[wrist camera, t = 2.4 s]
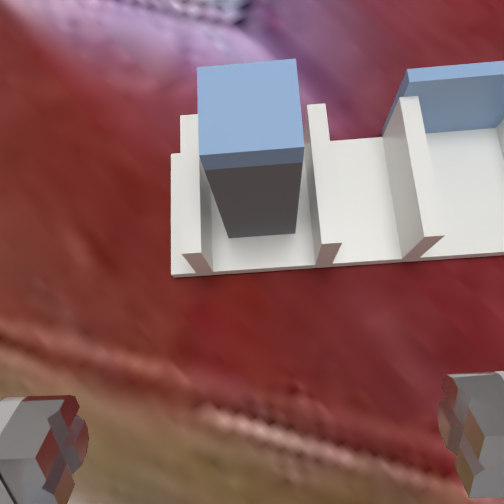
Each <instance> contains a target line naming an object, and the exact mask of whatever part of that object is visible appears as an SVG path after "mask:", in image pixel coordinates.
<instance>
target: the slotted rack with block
mask: <svg viewBox="0 0 504 504" xmlns="http://www.w3.org/2000/svg"><path fill="white" fill-rule="evenodd" d="M180 133H181V153H177V154H171V275H172V276H173V277H174V278H177V277H192V276H206V275H221V274H236V273H251V272H265V271H280V270H295V269H309V268H324V267H339V266H353V265H368V264H383V263H398V262H412V261H427V260H442V259H456V258H471V257H486V256H500V255H504V61H496V62H485V63H473V64H462V65H450V66H439V67H427V68H416V69H407V71H406V73H405V76H404V78H403V80H402V83H401V85H400V88H399V90H398V93H397V95H396V97H395V100H394V102H393V105H392V107H391V110H390V112H389V115H388V117H387V119H386V122H385V124H384V127H383V129H382V132H381V135H382V137H376V138H364V139H351V140H339V141H330V138H329V130H328V121H327V113H326V105H325V103H324V104H312V105H307V110H306V120H305V130H304V146H305V148H304V157H303V167H302V176H301V185H300V194H299V204H298V213H297V222H296V232H295V234H282V235H268V236H254V237H240V238H228V235H227V232H226V230H225V227H224V224H223V221H222V218H221V216H220V213H219V210H218V207H217V205H216V202H215V199H214V196H213V193H212V191H211V188H210V185H209V182H208V179H207V177H206V174H205V171H204V168H203V166H202V163H201V160H200V157H199V140H198V114H194V115H182V116H180Z"/></svg>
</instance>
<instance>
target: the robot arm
mask: <svg viewBox="0 0 504 504" xmlns="http://www.w3.org/2000/svg"><path fill="white" fill-rule="evenodd" d="M442 390H443V392H444V394H445V396H446V397H445V398H444V399H443V400H441V401H440V402H439V406H438V414H437V415H438V424H439V429H440V433H441V436H442V439H443V441H444V443H445V446H446V448H447V449H449V450H450V451H451V452H452V453H454V454H455V455H456V456H457V460H456V465H455V468H456V470H457V472H458V475H459V477H460V479H461V481H462V483H463V486H464V488H465V490H466V492H467V494H468V497H469V498H496V497H504V371H496V372H480V373H464V374H449V375H446V376H445V377H444V379H443V383H442ZM78 409H79V404H78V402H77V400H76V398H75V396H71V395H62V396H27V397H6V398H4V399H3V400H1V401H0V504H67V503H68V500H69V498H70V495H71V493H72V490H73V488H74V485H75V483H74V480H73V477H72V474H73V473H74V472H75V471H76V470H77V469H78V468H79V467H81V466H82V464H83V462H84V459H85V456H86V453H87V448H88V440H89V436H88V428H87V425H86V423H85V421H84V420H83V419H82V418H80V417H79V416H77V415H76V414H77V411H78Z"/></svg>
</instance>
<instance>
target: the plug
mask: <svg viewBox="0 0 504 504" xmlns="http://www.w3.org/2000/svg"><path fill="white" fill-rule="evenodd" d="M197 93H198V140H199V157H200V160H201V163H202V166H203V168H204V171H205V174H206V177H207V179H208V182H209V185H210V188H211V191H212V193H213V196H214V199H215V202H216V205H217V207H218V210H219V213H220V216H221V218H222V221H223V224H224V227H225V230H226V232H227V235H228V238H240V237H254V236H268V235H282V234H295V232H296V222H297V213H298V204H299V194H300V185H301V176H302V167H303V157H304V148H305V146H304V136H303V126H302V116H301V106H300V96H299V86H298V76H297V67H296V59H285V60H274V61H263V62H251V63H240V64H229V65H218V66H206V67H197Z"/></svg>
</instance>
